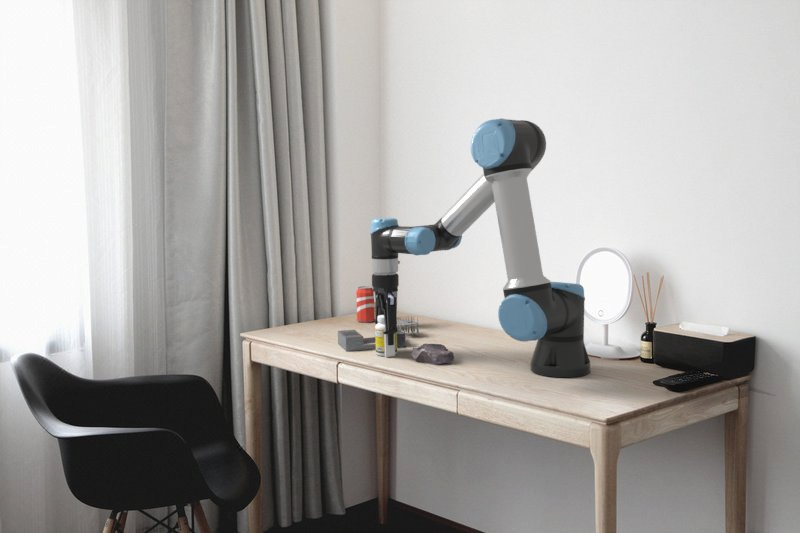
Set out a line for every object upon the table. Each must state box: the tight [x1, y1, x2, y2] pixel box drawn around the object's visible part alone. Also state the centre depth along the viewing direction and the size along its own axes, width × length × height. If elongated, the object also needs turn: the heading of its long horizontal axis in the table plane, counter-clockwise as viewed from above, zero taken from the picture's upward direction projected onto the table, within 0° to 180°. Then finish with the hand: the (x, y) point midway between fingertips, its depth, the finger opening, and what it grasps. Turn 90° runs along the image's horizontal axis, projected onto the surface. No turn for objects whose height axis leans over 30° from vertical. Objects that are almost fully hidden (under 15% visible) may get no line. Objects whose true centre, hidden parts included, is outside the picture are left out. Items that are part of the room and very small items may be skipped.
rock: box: [411, 343, 455, 366], centre depth 227 cm, size 8×11×4 cm
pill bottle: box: [374, 315, 398, 357], centre depth 236 cm, size 6×6×11 cm
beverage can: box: [355, 285, 375, 324], centre depth 286 cm, size 6×6×12 cm
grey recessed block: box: [337, 327, 407, 352], centre depth 248 cm, size 11×18×4 cm, turn 107°
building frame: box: [397, 316, 420, 339], centre depth 262 cm, size 6×8×6 cm
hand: (386, 353), depth 236 cm, fingers open, 7 cm apart
